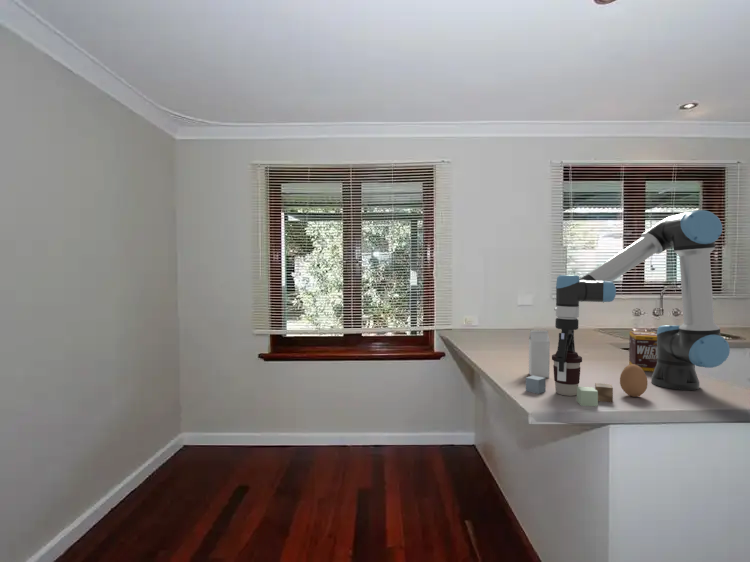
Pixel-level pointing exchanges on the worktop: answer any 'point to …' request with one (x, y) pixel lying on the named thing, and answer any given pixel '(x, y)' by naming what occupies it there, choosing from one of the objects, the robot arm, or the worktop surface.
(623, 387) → the egg
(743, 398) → the worktop surface
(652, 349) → the supplement box
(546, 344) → the milk carton
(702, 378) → the worktop surface
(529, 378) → the slate painted cube
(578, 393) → the sage painted cube
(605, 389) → the walnut cube
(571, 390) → the coffee cup
